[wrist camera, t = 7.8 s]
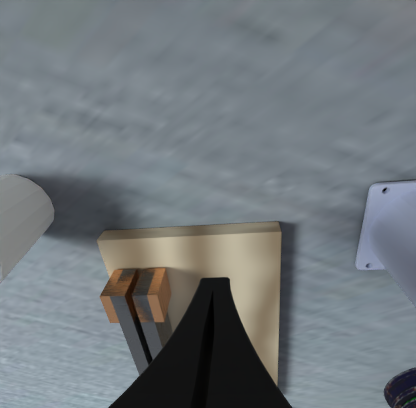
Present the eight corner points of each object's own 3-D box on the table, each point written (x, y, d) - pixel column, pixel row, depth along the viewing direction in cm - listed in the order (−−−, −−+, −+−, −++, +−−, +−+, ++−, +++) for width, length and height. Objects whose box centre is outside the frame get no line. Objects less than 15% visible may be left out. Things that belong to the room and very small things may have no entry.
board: (278, 221, 22) (281, 231, 20) (274, 391, 33) (276, 405, 32) (103, 230, 23) (96, 240, 22) (158, 390, 35) (155, 402, 33)
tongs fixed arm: (159, 268, 23) (149, 295, 20) (192, 402, 32) (188, 433, 30) (114, 269, 23) (99, 296, 20) (160, 402, 33) (154, 431, 30)
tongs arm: (165, 267, 23) (157, 295, 20) (194, 391, 31) (191, 421, 29) (139, 269, 23) (127, 295, 20) (175, 391, 32) (170, 421, 29)
